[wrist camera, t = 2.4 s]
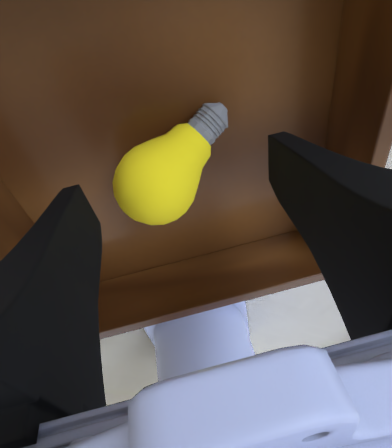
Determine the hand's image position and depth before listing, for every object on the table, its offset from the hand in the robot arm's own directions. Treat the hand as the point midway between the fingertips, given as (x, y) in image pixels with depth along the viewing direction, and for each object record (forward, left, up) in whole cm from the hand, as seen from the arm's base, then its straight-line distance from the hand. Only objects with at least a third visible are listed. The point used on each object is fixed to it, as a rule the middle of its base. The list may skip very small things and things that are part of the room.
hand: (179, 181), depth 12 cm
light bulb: (0, 0, -3) cm, 3 cm away
